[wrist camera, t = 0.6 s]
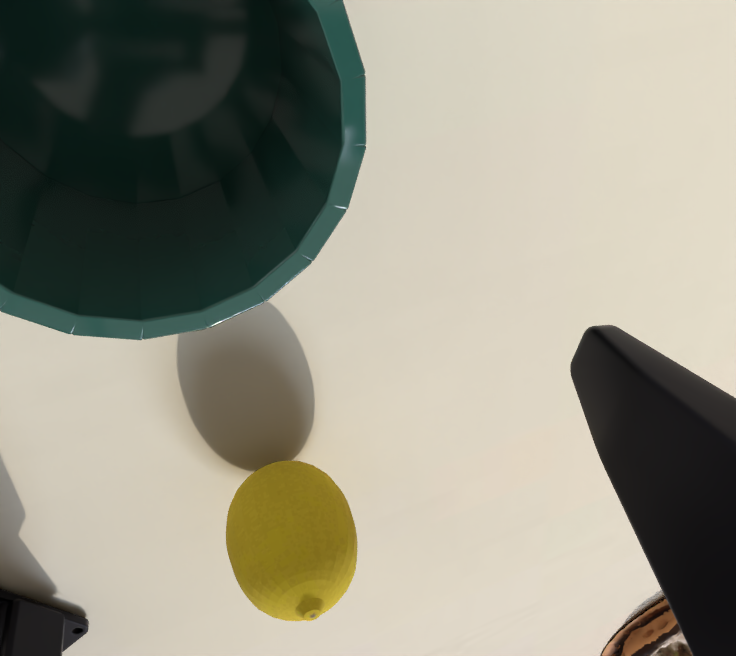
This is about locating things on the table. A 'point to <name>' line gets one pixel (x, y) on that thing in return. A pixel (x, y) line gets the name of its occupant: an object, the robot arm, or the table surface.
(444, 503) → the table surface
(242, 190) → the cup
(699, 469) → the robot arm
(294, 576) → the lemon
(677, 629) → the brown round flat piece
